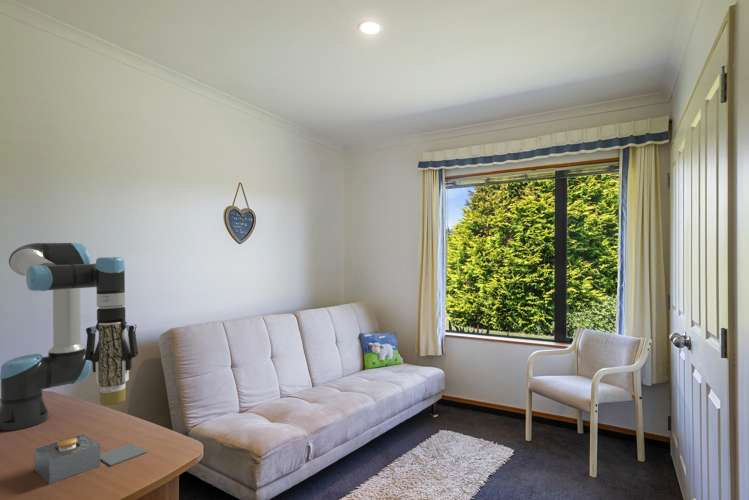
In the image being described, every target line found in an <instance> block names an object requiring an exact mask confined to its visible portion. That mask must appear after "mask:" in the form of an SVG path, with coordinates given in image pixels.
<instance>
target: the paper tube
mask: <svg viewBox="0 0 749 500" xmlns="http://www.w3.org/2000/svg"><path fill="white" fill-rule="evenodd" d="M98 327H99V331H98V341H99V380H100V383H99V404H100V405H101V406H103V407H104V406H105V407H107V406H115V405H119V404H122V403H123V402H125V401H126V382H122V361H123V360H124V359H125V358H124V356H123V353H122V351H121V340H124V339H125V340H126V338H125V337H126V336H125V330H123V331H122V330H121V321H120V322H101V323H100V322H99V324H98Z"/></svg>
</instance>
